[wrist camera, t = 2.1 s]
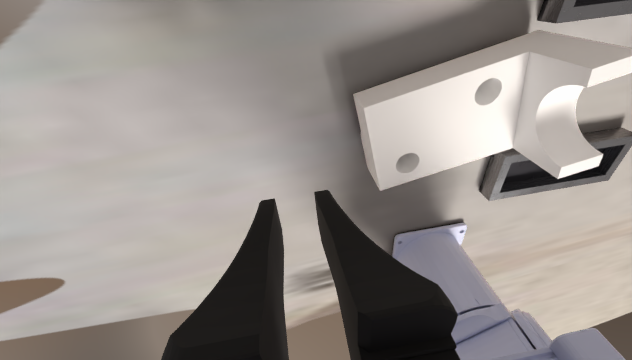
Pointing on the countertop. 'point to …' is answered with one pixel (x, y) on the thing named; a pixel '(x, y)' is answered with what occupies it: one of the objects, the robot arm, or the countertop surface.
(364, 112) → the bracket
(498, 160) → the trap pits
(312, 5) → the countertop surface
